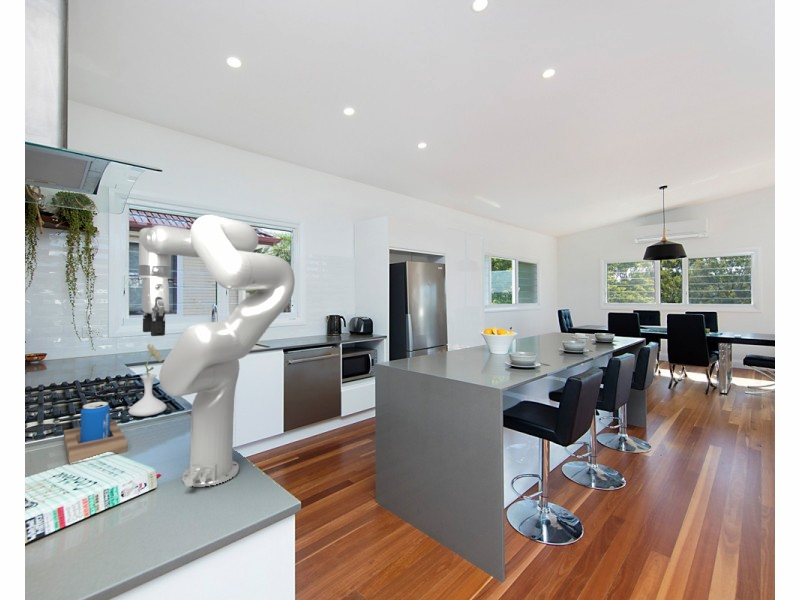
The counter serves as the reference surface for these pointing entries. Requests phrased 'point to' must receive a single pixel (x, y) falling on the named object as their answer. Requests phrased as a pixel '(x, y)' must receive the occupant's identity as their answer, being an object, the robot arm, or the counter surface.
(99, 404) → the beverage can
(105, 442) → the block
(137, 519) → the counter surface
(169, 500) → the counter surface
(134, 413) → the flower in vase
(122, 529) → the counter surface
